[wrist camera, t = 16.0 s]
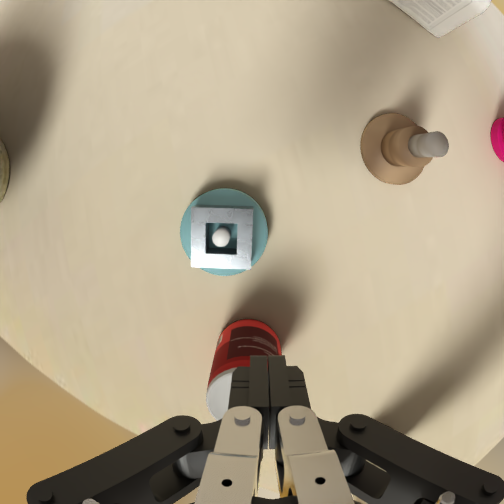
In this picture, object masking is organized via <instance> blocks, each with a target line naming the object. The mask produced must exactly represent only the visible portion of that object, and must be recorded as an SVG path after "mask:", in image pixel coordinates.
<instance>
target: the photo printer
mask: <svg viewBox="0 0 504 504" xmlns="http://www.w3.org/2000/svg"><path fill="white" fill-rule="evenodd" d="M389 1H391V2H392V3H393V4H395V5H396V6H397V7H399V8H400V9H401V10H403V11H404V12H405V13H406V14H408V15H409V16H410V17H412V18H413V19H414V20H415V21H417V22H418V23H419V24H420V25H421V26H423V27H424V28H425V29H426V30H428V31H429V32H430V33H432V34H433V35H434V36H436V37H438V38H440V37H442V36H444V35H446V34H447V33H449V32H451V31H452V30H454V29H456V28H457V27H459V26H461V25H463V24H464V23H466V22H468V21H470V20H471V19H473V18H475V17H477V16H478V15H480V14H482V13H483V12H484V11H485V10H486V9H487V8H488V7H489V5H490V2H491V0H389Z"/></svg>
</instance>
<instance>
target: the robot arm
mask: <svg viewBox="0 0 504 504" xmlns="http://www.w3.org/2000/svg"><path fill="white" fill-rule="evenodd" d="M268 429H269V449H275V469H276V475H277V482H278V488H279V494H280V498H279V499H265V498H260V497H257V496H258V488H259V478H260V469H261V461H262V458H263V449H268ZM198 486H199V490H198V493H197V497H196V500H195V502H194V503H190V504H499V503H500V502H501V501H502V500H503V498H504V481H503V480H502V479H501V478H500V477H499V476H497V475H494V474H492V473H489V472H486V471H484V470H482V469H479V468H477V467H474V466H472V465H469V464H467V463H465V462H462V461H460V460H458V459H455V458H453V457H451V456H449V455H446V454H444V453H442V452H440V451H437V450H435V449H433V448H431V447H429V446H427V445H424V444H422V443H420V442H418V441H416V440H414V439H412V438H410V437H408V436H406V435H404V434H402V433H400V432H398V431H396V430H394V429H392V428H391V427H388V426H386V425H384V424H382V423H380V422H378V421H376V420H374V419H372V418H370V417H368V416H366V415H362V414H351V415H348V416H345V417H344V418H342V419H341V421H340V422H339V423H337V422H329V421H325V420H322V419H320V418H318V417H317V416H316V414H315V412H314V411H313V410H311V407H310V402H309V398H308V393H307V388H306V384H305V379H304V375H303V372H302V371H301V370H300V369H299V368H298V367H297V366H286V360H285V355H268V371H267V356H250V367H245V366H238V367H237V368H236V369H235V370H234V372H233V373H232V380H231V388H230V396H229V404H228V410H227V411H226V412H225V413H224V415H223V418H222V419H220V420H218V421H216V422H213V423H208V424H201V423H200V422H199V421H198V420H197V419H195V418H193V417H190V416H175V417H172V418H170V419H168V420H166V421H164V422H163V423H161V424H159V425H157V426H155V427H154V428H152V429H150V430H148V431H146V432H144V433H142V434H141V435H139V436H137V437H135V438H133V439H131V440H129V441H127V442H125V443H123V444H121V445H119V446H117V447H115V448H113V449H111V450H109V451H107V452H105V453H103V454H101V455H99V456H97V457H95V458H93V459H91V460H88V461H86V462H84V463H82V464H80V465H78V466H75V467H73V468H71V469H69V470H66V471H64V472H62V473H59V474H57V475H55V476H52V477H50V478H47V479H45V480H43V481H40V482H38V483H36V484H34V485H32V486H31V487H30V489H29V490H28V492H27V502H28V504H173V503H175V502H176V501H178V500H179V499H181V498H182V497H184V496H185V495H187V494H188V493H190V492H191V491H192V490H194V489H195V488H197V487H198ZM351 493H352V494H353V497H352V495H351ZM353 498H354V500H353Z"/></svg>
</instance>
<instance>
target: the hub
mask: <svg viewBox="0 0 504 504" xmlns="http://www.w3.org/2000/svg"><path fill="white" fill-rule="evenodd" d="M194 205H231V206H254V207H253V232H252V258H251V266H253V265H254V264H255V263H256V262H257V261H258V260H259V258H260V257H261V255H262V254H263V252H264V249H265V247H266V243H267V238H268V228H267V222H266V218H265V215H264V213H263V211H262V209H261V207H260V206H259V204H258V203H257V202H256V201H255V200H254V199H253V198H252V197H250V196H249V195H247V194H246V193H244V192H242V191H239V190H236V189H231V188H220V189H214V190H211V191H209V192H206V193H204V194H202V195H201V196H199V197H198V198H196V199H195V200H194V201H193V202H192V203H191V204H190V205H189V207H188V208H187V210H186V211H185V213H184V215H183V218H182V221H181V227H180V236H181V242H182V245H183V248H184V250H185V252H186V254H187V256H188V257H189V259H190V260H191V207H193V206H194ZM237 226H238V224H234V223H209V248H234V249H237ZM199 268H201V269H202V270H204V271H206V272H208V273H211V274H215V275H221V276H229V275H235V274H238V273H241V272H243V271H245V270H247V269H224V268H202V267H199Z"/></svg>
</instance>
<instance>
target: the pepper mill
mask: <svg viewBox="0 0 504 504" xmlns="http://www.w3.org/2000/svg"><path fill="white" fill-rule="evenodd" d="M491 142H492V146H493V149H494V151H495V153H496V155H497V156H498V157H499V159H500V160H502V161H503V162H504V118H499V119H497V120H496V121H495V122H494V123H493V126H492V129H491Z"/></svg>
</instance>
